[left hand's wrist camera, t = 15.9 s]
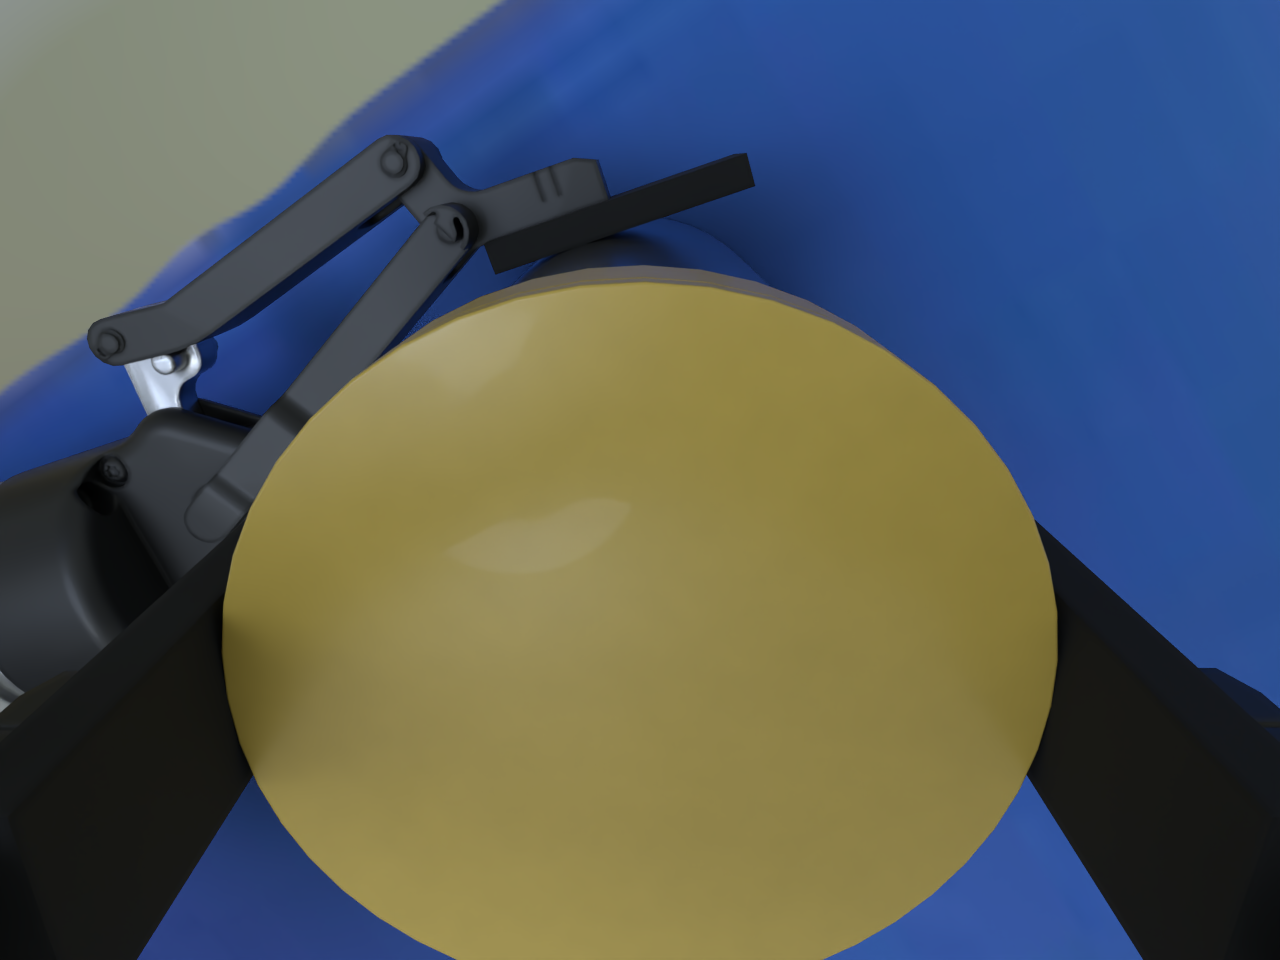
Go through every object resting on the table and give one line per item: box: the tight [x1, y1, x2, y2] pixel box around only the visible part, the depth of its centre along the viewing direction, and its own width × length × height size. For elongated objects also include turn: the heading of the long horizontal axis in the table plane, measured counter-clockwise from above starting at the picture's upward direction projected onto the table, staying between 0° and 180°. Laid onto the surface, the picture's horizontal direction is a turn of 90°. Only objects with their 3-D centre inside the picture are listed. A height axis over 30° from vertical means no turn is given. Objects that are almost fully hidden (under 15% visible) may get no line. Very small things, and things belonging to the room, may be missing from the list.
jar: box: [512, 218, 770, 287], centre depth 20 cm, size 10×10×19 cm
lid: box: [222, 265, 1058, 960], centre depth 11 cm, size 11×11×2 cm
